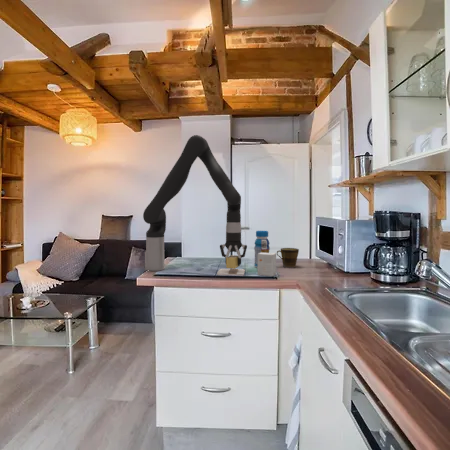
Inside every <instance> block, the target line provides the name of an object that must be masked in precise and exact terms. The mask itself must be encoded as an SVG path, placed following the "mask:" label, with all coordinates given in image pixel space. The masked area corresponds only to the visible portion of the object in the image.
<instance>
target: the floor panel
mask: <svg viewBox="0 0 450 450" xmlns="http://www.w3.org/2000/svg"><path fill="white" fill-rule="evenodd" d="M245 271H246V270H245V269H243V268H242V269H241V268H235V269H233V268H219V270H218V271H217V272H216V275H217V276H233V277H235V276H240V277H241V276H242V277H244V276H245Z"/></svg>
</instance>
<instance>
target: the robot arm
mask: <svg viewBox="0 0 450 450" xmlns="http://www.w3.org/2000/svg"><path fill="white" fill-rule="evenodd" d="M198 158H199V160H200V161H201V162H202V164H203V165H204V166H205V168H206V169H207V171H208V173H209V176H210V178H211V179H212V181H213V182H214V184H215V186H216V187H217V189H218V190H219V191H220V192H221V194H222V195H223V197H224V199H225V201H226V203H227V205H226V206H227V212H226V226H225V243H223V244H220V245H219V249H220V254H221V257H223V258H225V259H226V258H227V257H229V256H230V253H233V252H234V253H236V254H237V256H238V257H239V258H238V267H240V265H242V258H244V257H245V256H246V252H247V248H248V245H247V244H243V243H242V223H241V222H242V221H241V219H242V216H241V208H242V206H241V205H242V195H241V194H240V193H239V192H238V190H237V189H236V187H235V186H234V185H233V183H232V182H231V179H230V178H229V176H228V175H227V174H226V172H225V171H224V169H223V168H222V167H221V165H220V164H219V162H218V160H217V159H216V158H215V155H214V154H213V152H212V150H211V148H210V146H209V143H208V141H207V139H205V138H204V137H203V136H201V135H198V134H195V135H194V134H193V135H192V136H190V137H189V138H188V140H187V141H186V143H185V146H184V148H183V150H182V152H181V154H180V156H179V157H178V158H177V161H176V162H175V164H174V165H173V166H172V168H171V170H170V171H169V173H168V174H167V176H166V177H165V179H164V181H163V183H162V184H161V186H160V187H159V189H158V191H157V193H156V194H155V196H154V197H153V198H152V200H151V201H150V203H149V204H148V205H147V206H146V208H145V209H144V211H143V215H142V219H143V221H144V222H145V223H146V224H148V225H149V228H148V230H146V233H145V236H146V237H145V240H146V241H145V244H146V245H145V247H146V250H145V251H144V270H145V271H148V272H149V271H150V272H157V271H158V272H159V271H163V270H165V233H166V230H167V226H166V225H167V214H166V210H165V209H164V208H165V207H166V205H168V203H169V202H170V201H171V200H172V199H173V198H174V197H176V196H177V195H178V194H179V193H180V191H181V190H182V189H183V187H184V185H185V184H186V182H187V180H188V178H189V175H190V172H191V168H192V166H193V164H194V162H195V161H196V160H197V159H198ZM225 247H226V249H227V251H226V254H225ZM241 247H242V249H243V252H242V254H241V251H240V249H241Z"/></svg>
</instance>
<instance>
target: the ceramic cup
mask: <svg viewBox="0 0 450 450" xmlns="http://www.w3.org/2000/svg"><path fill="white" fill-rule="evenodd" d="M299 251H300V249H299V248H297V247H296V248H295V247H281V248H280V250H277V251H276V256H278V257H279V258H280V260H282V267H283V268H289V269H290V268H291V269H292V268H296V266H297V263H298V262H297V260H298V255H299ZM279 252H280V255H279V254H278V253H279Z"/></svg>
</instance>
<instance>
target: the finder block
mask: <svg viewBox="0 0 450 450" xmlns="http://www.w3.org/2000/svg"><path fill="white" fill-rule="evenodd" d="M238 258H239V257H238V255H234V254H231V255H229V256H228V257H227V258H225V267H226V268H225V269H238V267H239V266H238Z"/></svg>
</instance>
